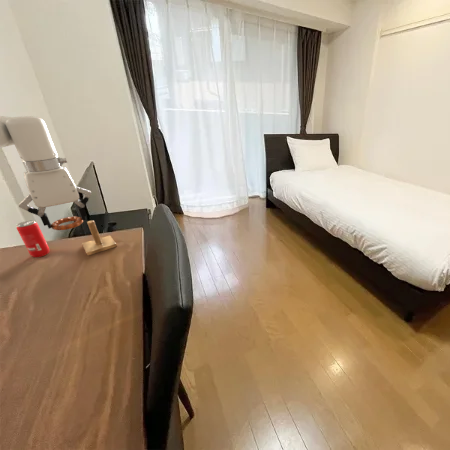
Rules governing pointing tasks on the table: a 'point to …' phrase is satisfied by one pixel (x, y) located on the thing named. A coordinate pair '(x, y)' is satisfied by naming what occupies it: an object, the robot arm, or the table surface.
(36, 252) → the beverage can
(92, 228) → the post
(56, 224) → the ring
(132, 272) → the table surface
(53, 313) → the table surface
